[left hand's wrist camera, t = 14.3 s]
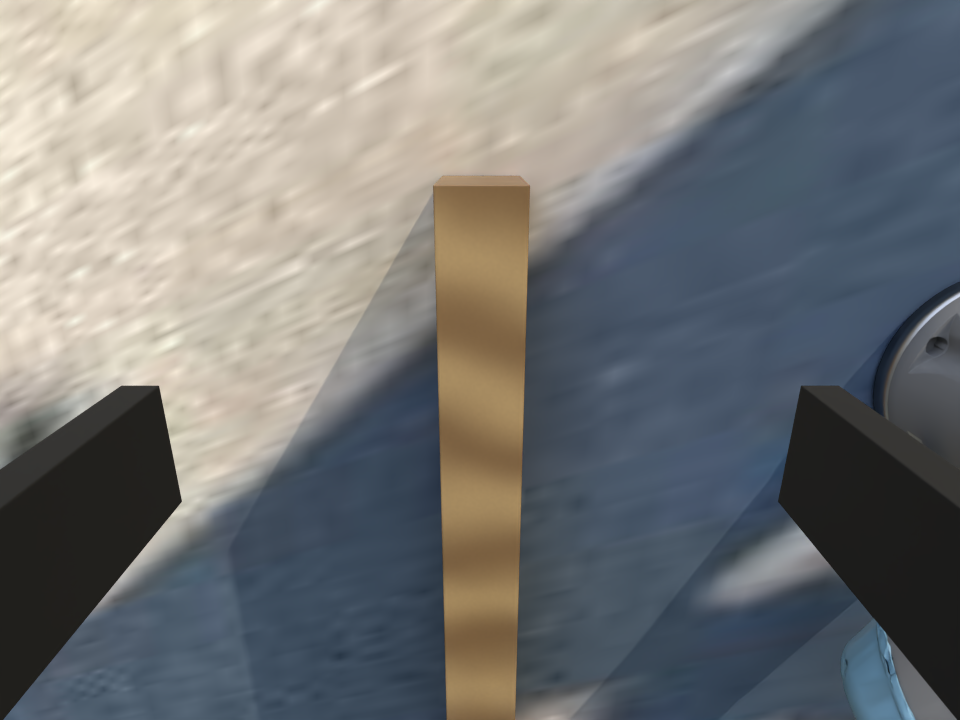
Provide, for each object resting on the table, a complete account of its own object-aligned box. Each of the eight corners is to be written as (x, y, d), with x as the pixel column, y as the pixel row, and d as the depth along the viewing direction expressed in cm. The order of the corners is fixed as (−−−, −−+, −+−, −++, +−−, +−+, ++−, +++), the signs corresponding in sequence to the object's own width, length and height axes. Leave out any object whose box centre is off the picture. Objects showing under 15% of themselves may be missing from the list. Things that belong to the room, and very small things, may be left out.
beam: (441, 175, 38) (433, 184, 31) (520, 175, 38) (530, 184, 31) (457, 923, 65) (454, 1022, 58) (503, 923, 65) (506, 1022, 58)
